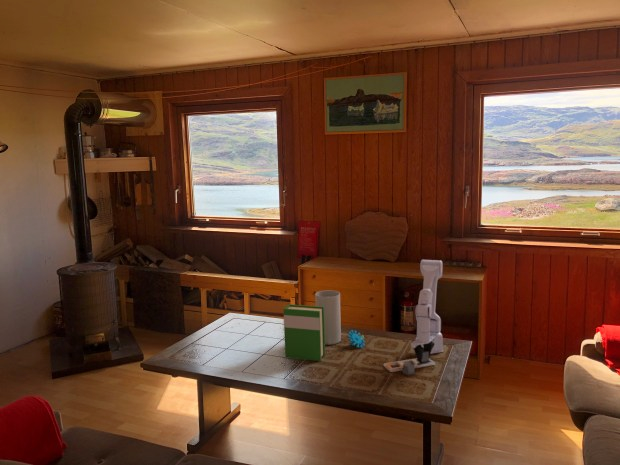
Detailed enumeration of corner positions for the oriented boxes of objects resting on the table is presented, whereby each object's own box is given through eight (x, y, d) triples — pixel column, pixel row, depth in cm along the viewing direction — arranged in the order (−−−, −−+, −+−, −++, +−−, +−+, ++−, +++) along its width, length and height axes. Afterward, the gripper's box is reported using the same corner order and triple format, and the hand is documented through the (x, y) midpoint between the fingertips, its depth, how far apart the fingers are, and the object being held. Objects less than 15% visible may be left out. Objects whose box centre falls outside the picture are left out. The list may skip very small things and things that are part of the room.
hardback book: (325, 355, 245) (323, 306, 242) (320, 361, 238) (319, 311, 235) (290, 351, 251) (289, 304, 247) (285, 357, 244) (283, 308, 240)
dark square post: (424, 361, 235) (424, 348, 234) (428, 364, 231) (428, 351, 230) (417, 362, 234) (417, 349, 233) (421, 365, 230) (421, 352, 229)
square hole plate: (427, 359, 237) (427, 356, 237) (435, 364, 230) (435, 362, 230) (383, 366, 231) (383, 363, 231) (390, 372, 224) (390, 369, 224)
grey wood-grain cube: (408, 370, 225) (408, 362, 225) (414, 373, 222) (414, 365, 222) (402, 372, 223) (402, 364, 223) (408, 375, 220) (408, 366, 220)
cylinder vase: (320, 346, 256) (318, 298, 252) (314, 337, 268) (312, 291, 264) (344, 343, 259) (343, 295, 255) (337, 335, 271) (336, 289, 267)
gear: (356, 348, 248) (346, 330, 253) (349, 354, 251) (339, 337, 256) (370, 344, 256) (359, 327, 261) (362, 350, 259) (352, 334, 264)
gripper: (427, 324, 237) (427, 352, 240) (405, 331, 229) (405, 360, 231) (439, 328, 232) (439, 356, 234) (417, 336, 223) (417, 365, 225)
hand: (423, 359), depth 232 cm, fingers closed on dark square post, 4 cm apart
